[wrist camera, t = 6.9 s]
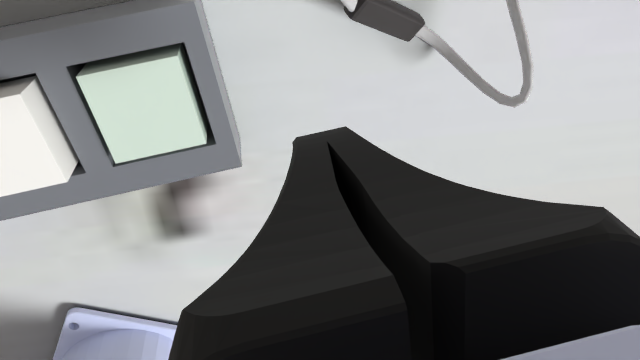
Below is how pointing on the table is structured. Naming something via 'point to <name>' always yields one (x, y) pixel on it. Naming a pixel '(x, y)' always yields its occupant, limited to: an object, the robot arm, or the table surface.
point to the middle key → (31, 139)
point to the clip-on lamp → (394, 19)
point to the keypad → (76, 116)
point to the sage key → (145, 102)
